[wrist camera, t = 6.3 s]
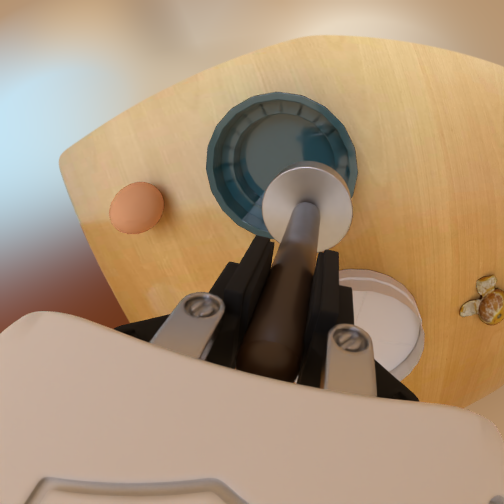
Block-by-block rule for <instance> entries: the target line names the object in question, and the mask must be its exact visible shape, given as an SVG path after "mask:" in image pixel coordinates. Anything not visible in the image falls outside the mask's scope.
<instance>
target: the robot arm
mask: <svg viewBox="0 0 504 504" xmlns="http://www.w3.org/2000/svg"><path fill="white" fill-rule="evenodd" d="M273 250H274V242H270V238H268V237H263V236H258V235H256V236H255V238H254V240H253V241H252V243H251V245H250V247H249V248H248V250H247V252H246V253H245V255H244V257H243V258H242V260H241V262H240V264H239V263H234V262H229V263H228V264H227V265H226V267H225V268H224V270H223V272H222V273H221V275H220V276H219V278H218V279H217V281H216V282H215V284H214V285H213V287H212V288H211V290H210V291H209V293H206V292H196V293H192V294H189V295H187V296H185V297H184V298H183V299H182V300H181V301H180V302H179V304H178V305H177V306H176V308H175V309H174V310H173V312H172V313H171V314H169V315H165V316H160V317H156V318H152V319H148V320H143V321H139V322H135V323H130V324H126V325H121V326H119V327H116V328H114V329H111V328H108V327H106V326H103V325H100V324H98V323H95V322H92V321H90V320H87V319H84V318H81V317H78V316H74V315H70V314H65V313H60V312H49V311H40V312H33V313H29V314H27V315H25V316H23V317H22V318H20V319H19V320H17V321H16V322H14V323H13V324H12V325H10V326H9V327H8V328H7V329H5V330H4V331H3V332H2V333H1V334H0V504H504V441H503V439H502V436H501V434H500V432H499V430H498V429H497V427H496V426H495V425H494V424H493V423H492V422H491V421H490V420H488V419H487V418H485V417H483V416H482V415H480V414H477V413H475V412H472V411H470V410H467V409H464V408H460V407H456V406H451V405H445V404H436V403H426V402H419V400H418V398H417V397H416V396H415V395H414V393H412V392H411V391H410V390H409V389H408V388H407V387H406V386H404V385H403V384H402V383H401V382H400V381H399V380H398V379H397V378H395V377H394V376H393V375H392V374H391V373H390V372H389V371H387V370H386V369H385V368H384V367H383V366H382V365H381V364H380V363H378V362H377V361H376V360H375V359H374V351H373V342H372V339H371V337H370V336H369V334H368V333H367V332H366V331H365V330H363V329H362V328H360V327H358V326H355V325H354V308H353V292H352V288H351V287H347V286H342V285H339V253H338V252H336V251H331V250H326V249H325V251H324V253H323V252H319V254H318V258H317V262H316V267H315V271H314V275H313V281H312V288H311V296H310V302H309V309H308V316H307V322H306V328H305V335H304V341H303V342H304V349H303V355H302V361H301V367H300V371H299V374H298V378H297V384H295V383H290V382H286V381H281V380H277V379H272V378H268V377H264V376H260V375H255V374H251V373H247V372H243V371H240V370H236V369H235V367H236V361H235V360H236V357H237V353H238V350H239V348H240V345H241V343H242V340H243V338H244V335H245V333H246V330H247V328H248V325H249V323H250V320H251V318H252V315H253V313H254V310H255V308H256V305H257V303H258V300H259V298H260V295H261V293H262V290H263V287H264V285H265V282H266V280H267V277H268V275H269V272H270V269H271V263H272V256H273Z"/></svg>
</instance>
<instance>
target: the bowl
mask: <svg viewBox="0 0 504 504" xmlns="http://www.w3.org/2000/svg"><path fill="white" fill-rule="evenodd" d="M301 161H315V162H319V163H323V164H325V165H327V166H329V167H331V168H333V169H334V170H335V171H336V172H337V173H338V174H340V176H341V177H342V178H343V179H344V181H345V183H346V184H347V187H348V189H349V193H350V197H351V198H352V196H353V193H354V189H355V184H356V180H357V175H358V169H357V160H356V152H355V147H354V145H353V143H352V141H351V139H350V137H349V135H348V133H347V131H346V129H345V127H344V125H343V124H342V123H341V122H340V121H339V120H338V119H337V118H336V117H335V116H334V115H333V114H332V113H331V112H330V111H329V110H328V109H327V108H326V107H325V106H323V105H321V104H319V103H317V102H315V101H313V100H311V99H309V98H307V97H305V96H302V95H297V94H290V93H283V92H273V93H267V94H262V95H257V96H253V97H251V98H249V99H247V100H245V101H243V102H242V103H240V104H238V105H236V106H235V107H233V108H232V109H231V110H230V111H229V112H228V113H227V114H226V115H225V116H224V118H223V119H222V120H221V121H220V122H219V123H218V124H217V126H216V128H215V130H214V133H213V135H212V137H211V140H210V142H209V145H208V149H207V162H206V171H207V175H208V180H209V184H210V188H211V190H212V193H213V195H214V196H215V198H216V200H217V202H218V203H219V205H220V207H221V209H222V210H223V211H224V212H225V213H226V214H227V215H228V216H229V217H230V218H231V219H232V220H233V221H234V222H235V223H236V224H237V225H239V226H240V227H242V228H244V229H246V230H248V231H250V232H252V233H254V234H255V235H258V236H263V237H268V238H270V239H274V238H273V237H272V235H271V234H270V233H269V231H268V229H267V227H266V226H265V223H264V220H263V216H262V201H263V197H264V194H265V191H266V189H267V187H268V186H269V185H270V183H271V182H272V181H273V179H274V178H275V177H276V176H277V175H278V174H279V172H280V171H282V170H283V169H284V168H286V167H287V166H289V165H291V164H294V163H297V162H301Z"/></svg>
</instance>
